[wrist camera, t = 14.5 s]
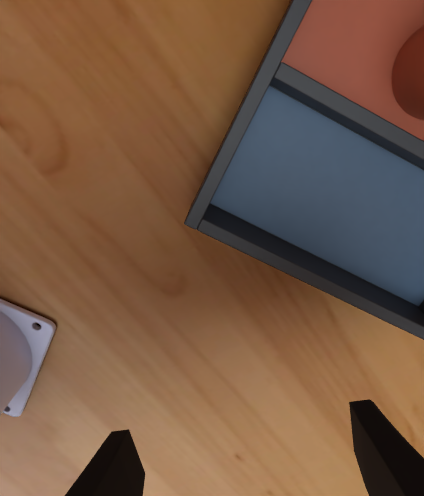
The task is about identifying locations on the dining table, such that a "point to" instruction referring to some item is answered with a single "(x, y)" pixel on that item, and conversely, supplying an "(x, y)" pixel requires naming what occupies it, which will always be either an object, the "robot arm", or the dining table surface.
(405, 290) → the organizer
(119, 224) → the dining table surface
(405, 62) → the terracotta peg
